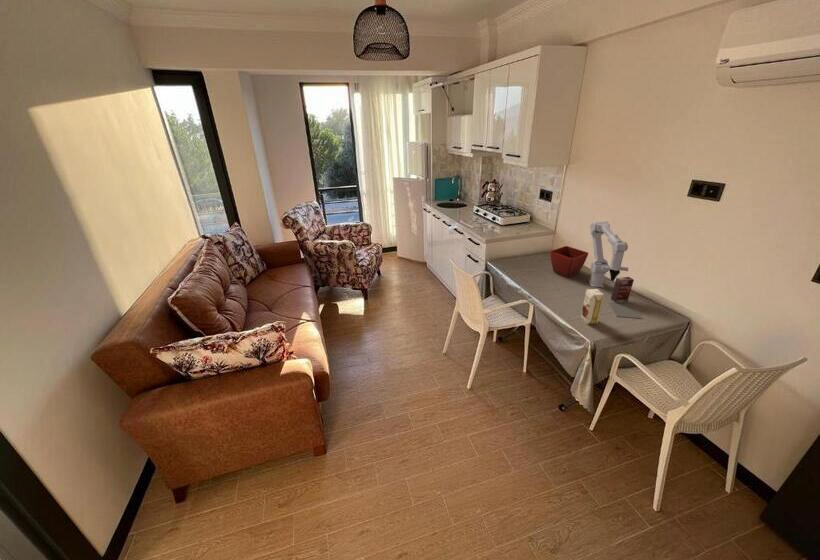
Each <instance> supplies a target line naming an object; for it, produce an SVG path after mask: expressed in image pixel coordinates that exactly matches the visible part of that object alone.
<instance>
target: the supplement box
mask: <svg viewBox="0 0 820 560" xmlns="http://www.w3.org/2000/svg"><path fill="white" fill-rule="evenodd" d="M634 280H635V279H633V278H631V277H630V276H625V277H616V278H615V283H614V286H613V290H612V293H611V297H610V301H611V302H612V303H620V304H624V303H628V301H629V298H630V295H631V291H632V288H633V283H634Z"/></svg>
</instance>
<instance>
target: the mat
mask: <svg viewBox="0 0 820 560" xmlns="http://www.w3.org/2000/svg"><path fill="white" fill-rule="evenodd" d="M608 304H609V306H610V307H611V309H612V310H613V312H614V314H615V316H616V317H618V318H627V319H628V318H629V319H640V320H642V319H643V317H642V315H641V314H640V312H639V311H638V309H637V308H636V307H635V305H634V304H631V303H614V302H609V303H608Z"/></svg>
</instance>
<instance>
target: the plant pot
mask: <svg viewBox="0 0 820 560" xmlns="http://www.w3.org/2000/svg"><path fill="white" fill-rule="evenodd" d="M588 256H589V252H587V251H584V250H582V249H581V250H580V249H577V248H575V247H572V246H568V245H565V246H562V247H559V248H556V249H553V250H552V249H551V250H550V262H551V263H550V264H551V268H552V271H553V272H554V273H556V274H558V275H561V276H564V277H565V278H570V277H572V276H574V275H577V274H579V272H580V271H581V270H582V268H583V266H584V265H585V262H586V261H587V259H588Z"/></svg>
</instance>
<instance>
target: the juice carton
mask: <svg viewBox="0 0 820 560" xmlns="http://www.w3.org/2000/svg"><path fill="white" fill-rule="evenodd" d="M604 299H605V294H604V293H602V292H601V291H600V290H599V289H598V288H593V289H592V288H591V289H589V288H588V289H586V292H585V295H584V300H583V304H582V305H583V306H582V310H581V315H580V318H581V320H582V321H583V322H584V323H585V324H586V325H595V324H598V323H599V319H600V315H601V312H602V311H601V310H602V307H603V303H604Z"/></svg>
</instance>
